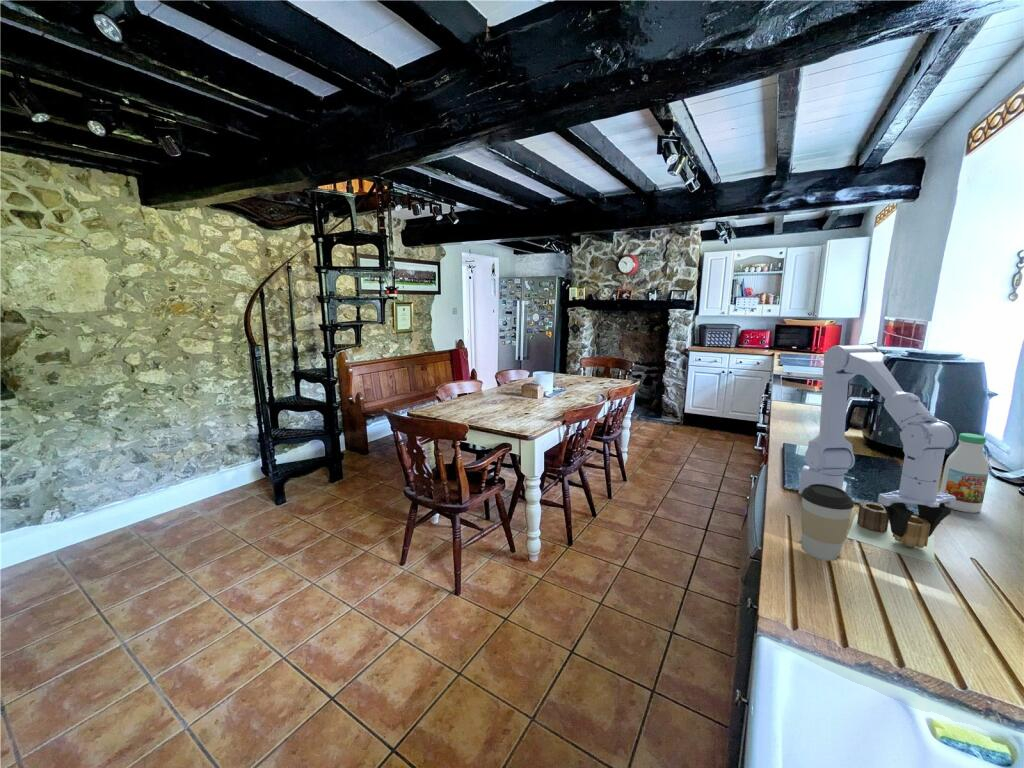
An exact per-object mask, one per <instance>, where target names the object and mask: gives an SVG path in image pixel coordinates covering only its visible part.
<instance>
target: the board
mask: <svg viewBox="0 0 1024 768" xmlns="http://www.w3.org/2000/svg"><path fill="white" fill-rule="evenodd" d="M857 520H858V514H857V513H856V514H855V515H854V518H853V520H852V523H851V525H850V528H849V530H848V532H847V534H846V539H847V538H848V539H850V540H853V541H857V542H860V543H863V544H867V545H870V546H874V547H876V548H877V547H878V548H881V549H884V550H887V551H890V552H893V553H897V554H900V555H904V556H907V557H911V558H913V559H917V560H920V561H922V562H925V563H929V564H933V565H934V564H935V549H936V548H935V546H936V545H935V541H936V539H935V537H936V536H935V534H933V533H932V534H931V536H930V537H928V543H927V547H926V546H924V547H923V548H918V547H914V546H908V545H905V544H904V543H901V542H898V541H896V540H895V537H892V536H893V533H892V532H891V526H890V522H888V528H887V531H884V532H883V533H880V532H876V531H870V530H868V529H865V528H862V527H860V526H859V524H858V523H857Z"/></svg>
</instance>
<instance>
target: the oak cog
mask: <svg viewBox="0 0 1024 768" xmlns="http://www.w3.org/2000/svg"><path fill="white" fill-rule="evenodd" d="M930 526H931V524H930V523H928V521H927V520H925V519H921V518H919V516H916V515H914V514H913V515H912V516H911V517H910V519H909V521H908V523H907V526H906V530H905V533H904V535H903V537H899V536H897V535H895V534H894V533H893V536H892V537H895V540H896V541H898V542H901V543H904V544H905V545H908V546H914V547H918V548H923V547H924V546H926V547H927V543H928V537H929V532H930Z"/></svg>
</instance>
